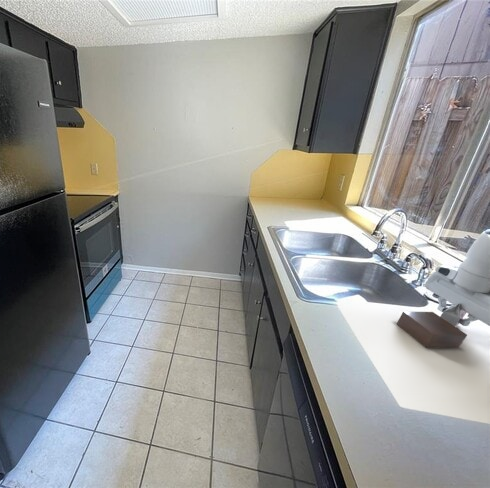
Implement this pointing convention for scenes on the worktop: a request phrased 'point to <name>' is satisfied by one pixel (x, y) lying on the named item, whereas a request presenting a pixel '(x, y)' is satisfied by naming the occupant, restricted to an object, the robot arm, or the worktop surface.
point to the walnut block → (431, 330)
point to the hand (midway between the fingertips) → (451, 317)
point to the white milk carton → (453, 314)
